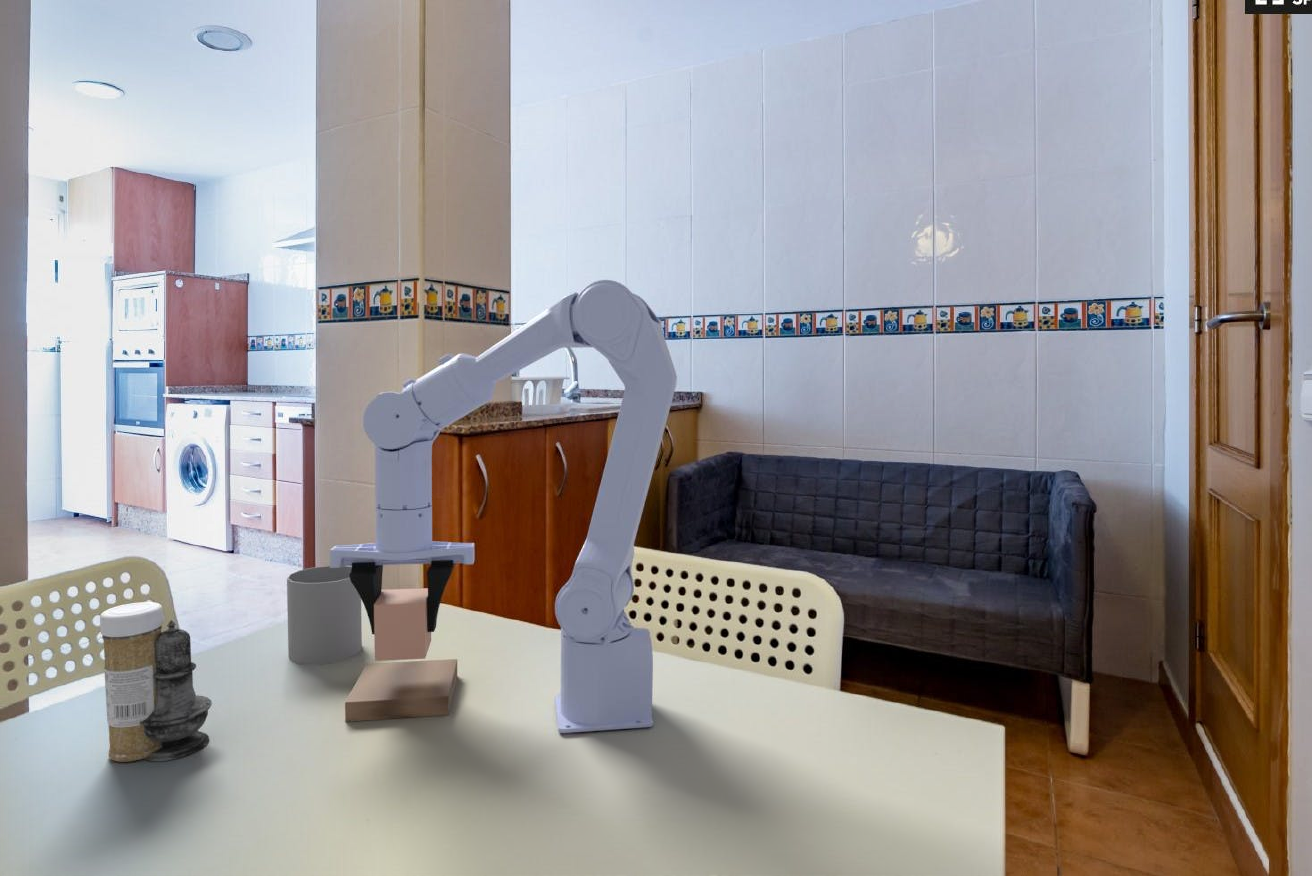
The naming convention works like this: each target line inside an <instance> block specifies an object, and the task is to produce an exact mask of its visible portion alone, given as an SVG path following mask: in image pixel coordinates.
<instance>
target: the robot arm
mask: <svg viewBox="0 0 1312 876" xmlns="http://www.w3.org/2000/svg"><path fill="white" fill-rule="evenodd" d="M562 348H563V349H564V348H569V349H570V348H576V349H577V348H580V349H581V348H594V349H595V350H596V351H597V352H599V353H600V354H601V355H602V356H603V357H604V358H606V359H607V361H608V363H609V364H610V366H611V367H612V370H614V372H615V373H616V375H617V376H618V378H619V379H620V381H621V382H622V384H623V386H624V392H623V395H622V400H621V404H620V408H619V411H618V415H617V420H616V422H615V423H616V424H615V426H614V430H613V435H612V438H611V442H610V446H609V451H608V453H607V458H606V462H605V466H604V469H603V472H602V478H601V482H600V485H599V488H598V491H597V495H596V500H595V505H594V508H593V512H592V516H591V520H590V524H589V527H588V532H587V536H586V539H585V541H584V543H583V545H582V547H581V550H580V551H579V554H578V555H577V558H576V560H575V563H574V566H573V570H572V574H571V576H570V578H569V579H568V581H567V582H566V583H565V584H564V585H563V586H562V587H561V589H560V590H559V592H558V593H557V595H556V597H555V601H554V615H555V617H556V620H557V623H558V625H559V626H560V632H561V633H560V694H558V693H557V694H556V695H555V697H554V701H555V711H556V714H555V715H556V724H557V732H558V733H561V734H567V733H568V734H570V733H582V732H583V733H584V732H593V731H594V732H596V731H597V732H598V731H609V730H610V731H612V730H625V729H635V728H636V729H638V728H640V729H641V728H650V727H652V726H653V725H654V721H653V679H654V678H653V677H654V676H653V674H654V665H653V664H654V661H653V659H654V656H653V646H652V637H651V634H650V632H649V629H648V628H645V627H632V624H631V622H630V619H629V617H628V615H627V612H625V608H627V606H628V605H629V603H630V602H631V600H632V598H633V595H634V591H635V582H634V578H633V572H632V566H633V565H632V564H633V561H634V557H635V541H636V537H637V532H638V530H639V525H640V523H641V518H642V516H643V515H642V514H643V511H644V508H645V507H644V506H645V502H646V500H647V496H648V492H649V489H650V485H651V480H652V477H653V474H654V470H655V469H654V468H655V466H656V461H657V460H658V455H659V451H660V447H661V443H662V441H663V440H662V439H663V435H664V432H665V428H666V424H667V421H668V416H669V413H670V409H671V406H672V402H673V398H674V393H675V390H676V388H677V387H676V386H677V381H678V379H677V378H678V377H677V372H676V369H675V366H674V363H673V360H672V356H671V353H670V351H669V348H668V344H667V342H666V338H665V335H664V332H663V327H662V322H661V320H660V319H659V317H658V316H657V315H656V313H655V312H654V311H653V309H652V308H651V307H650V305H648V304H647V302H646V300H644V299H643V298H642V297H641V296H639V295H637V294H635V293H633V292H632V291H631V290H630V289H629V288H628V287H626V286H625V285H624V284H622V283H620V282H618V281H616V280H611V279H601V280H600V279H599V280H596V281H594V282H591V283H589V284H588V285H586V286H585V287H584V288H582V290H581V291H580V292H579V293H578V292H572V293H570V294H568V295H566V296H564V297H562V298H561V299H560V300H559V301H557V302H556V303H554V304H553V305H552V306H550V307H549V308H547V309H546V310H545V311H543V312H541V313H540V314H538V315H537V316H535V317H534V318H533V319H531V320H530V321H528V322H527V323H525V324H523V325H522V326H521V327H520V328H518V329H516V330H515V331H513V332H512V333H511V334H508V335H507V336H506V337H504V338H503V339H502V340H500V341H498V342H497V343H495V344H494V345H492V346H491V347H490V348H488V349H487V350H485V351H484V352H482V353H481V354H480V355H478V356H473V355H472V354H471V355H470V354H467V353H463V352H462V353H458V354H457V355H454V354H449V353H447V354H445V355H443V356H442V357H440V358H439V359H438V363H439V364H440V365H438V366H437V367H436V368H434V369H432V370H430V371H429V372H428V373H425V374H424V375H422V376H421V377H419V378H417V379H411V378H410V379H407V380H406V381H404V382H403V383H402V387H403V388H402V390H401V392H396V391H383V392H380V393H378V394H376V396H375V398H373V400H370V402H369V403H368V405H367V406H366V408H365V410H364V413H363V418H362V419H363V420H362V424H363V429H364V432H365V435H366V436H367V438H368V439H369V440H370V441H371V443H373V444H374V498H375V499H374V500H375V502H374V503H375V504H374V506H375V507H374V509H375V510H374V511H375V515H374V517H375V523H374V524H375V542H371V543H360V544H349V545H347V544H346V545H334V546H333V547H331V549H329V566H330V568H340V567H342V566H349V567H352V569H351V573H350V574H349V576H350V580H351V583H352V584H353V585H354V587H355V589H356V590H357V592H358V594H359V595H360V597H361V603H362V604H363V606H364V609H365V611H366V613H367V617H368V620H369V621H368V622H369V626H370V629H371V635H374V604H375V602H376V601H377V599H378V598H379V596H380V594H381V593H382V591H383V590H382V589H383V570H384V566H391V565H392V566H394V565H395V566H397V565H398V566H400V565H422V564H423V565H428V564H430V566H428V568H427V570H426V580H427V581H426V582H427V588H428V616H427V631H428V632H431V633H433V632H435V631H436V628H437V622H438V620H437V619H438V615H439V609H440V605H441V602H442V597H443V595H444V591H445V588H446V587H447V584H448V582H449V580H450V577H451V575H452V573H453V571H454V568H455V566H456V564H462V565H474V562H475V543H474V542H452V541H451V542H450V541H449V542H448V541H434V540H433V500H432V499H433V498H432V497H433V493H432V492H433V489H432V488H433V480H432V477H433V473H432V472H433V471H432V470H433V465H432V464H433V462H432V461H433V459H432V457H433V456H432V455H433V443H434V442H435V440H437V438H438V436H439V435H440V432H441V430H444V429H446V428H447V427H448V426H450V425H452V424H454V423H455V422H457V421H458V420H460V419H462V418H464V417H465V416H467V415H468V414H469V415H470V413H472V412H474V411H475V410H477V409H478V408H481V407H482V406H485V404H487V403H489V402H490V401H491V400H492V398H493V396H494V392H495V389H496V385H497V383H499V382H501V381H503V380H504V379H506V378H508V377H510V376H512V375H513V374H516V373H517V372H519V371H520V370H522V369H525V368H526V367H528V366H530V365H532V364H533V363H535V362H537V361H539V360H541V359H542V358H543V359H544V357H546V356H548V355H550V354H552V353H553V352H556V351H557V350H559V349H562Z"/></svg>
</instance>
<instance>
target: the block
mask: <svg viewBox="0 0 1312 876" xmlns="http://www.w3.org/2000/svg"><path fill="white" fill-rule="evenodd" d="M427 616H428V587H427V588H426V587H425V588H422V587H421V588H397V589H396V588H393V589H392V588H391V589H383V590H382V593H381V594H380V596H379V598H378V599H377V601H376V602H375V604H374V634H373V635H374V662H381V661H382V662H385V661H386V662H387V661H404V660H423V659H425V660H426V657H427V654H428V652H429V648H430V646H431V642H432V632H428V631H427Z"/></svg>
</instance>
